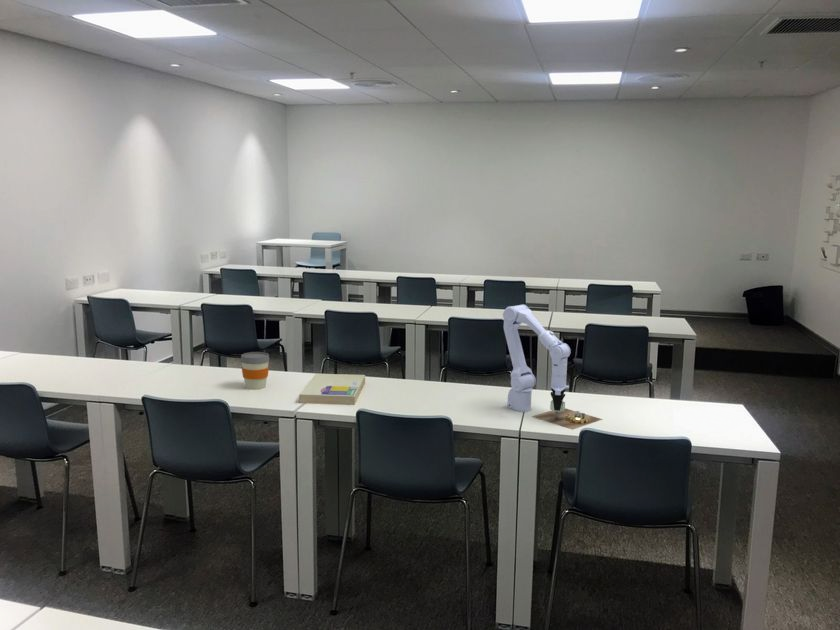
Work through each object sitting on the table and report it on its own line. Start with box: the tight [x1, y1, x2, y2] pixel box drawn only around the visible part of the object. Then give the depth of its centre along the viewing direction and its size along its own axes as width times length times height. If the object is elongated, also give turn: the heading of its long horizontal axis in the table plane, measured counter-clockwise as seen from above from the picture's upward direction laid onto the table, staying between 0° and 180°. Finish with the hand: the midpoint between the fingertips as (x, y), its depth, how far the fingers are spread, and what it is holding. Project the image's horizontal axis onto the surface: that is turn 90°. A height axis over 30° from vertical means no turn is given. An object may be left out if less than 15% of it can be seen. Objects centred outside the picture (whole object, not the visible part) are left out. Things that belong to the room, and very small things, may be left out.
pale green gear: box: [549, 399, 566, 412], centre depth 269 cm, size 6×6×3 cm
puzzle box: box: [298, 373, 366, 406], centre depth 303 cm, size 36×5×24 cm
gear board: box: [531, 407, 603, 430], centre depth 271 cm, size 20×20×5 cm
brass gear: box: [566, 412, 589, 424], centre depth 268 cm, size 9×9×4 cm
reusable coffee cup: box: [240, 351, 270, 391], centre depth 309 cm, size 13×13×15 cm
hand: (557, 408), depth 269 cm, fingers closed on pale green gear, 6 cm apart
